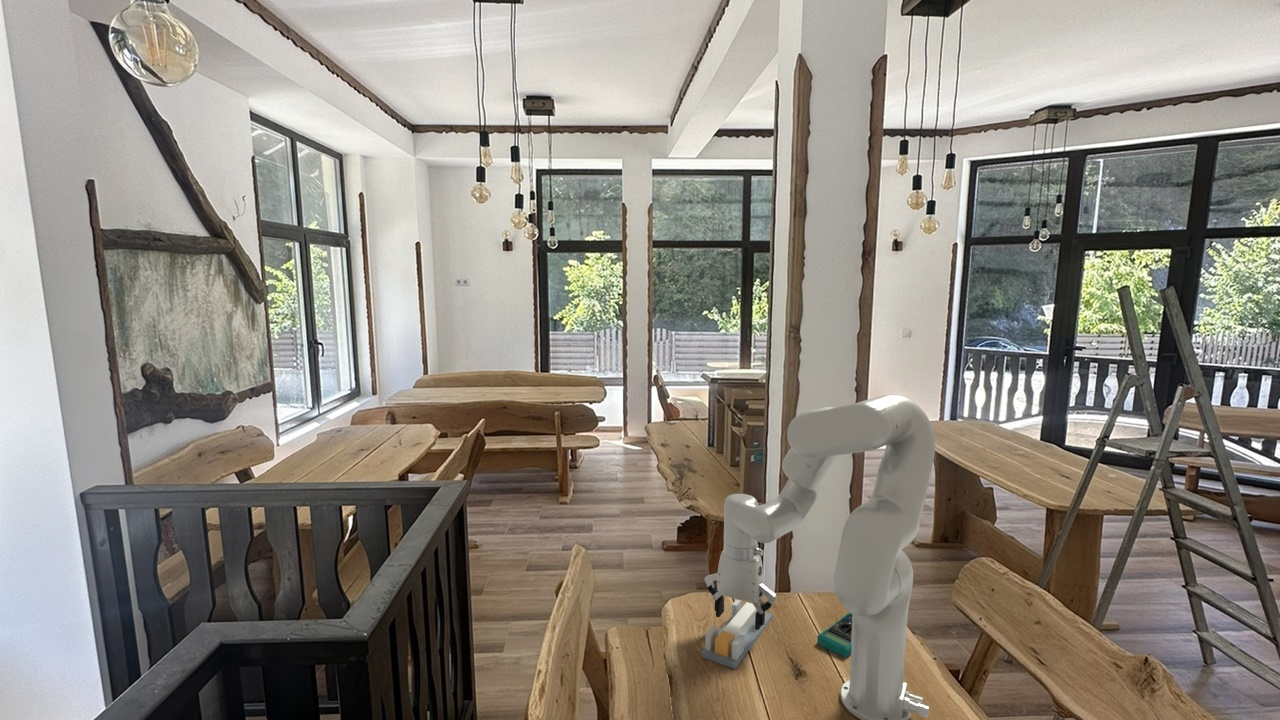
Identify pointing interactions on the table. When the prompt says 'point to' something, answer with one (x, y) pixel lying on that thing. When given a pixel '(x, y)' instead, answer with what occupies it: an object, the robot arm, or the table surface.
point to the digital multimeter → (838, 636)
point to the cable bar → (735, 629)
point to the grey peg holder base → (738, 645)
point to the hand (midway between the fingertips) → (739, 620)
